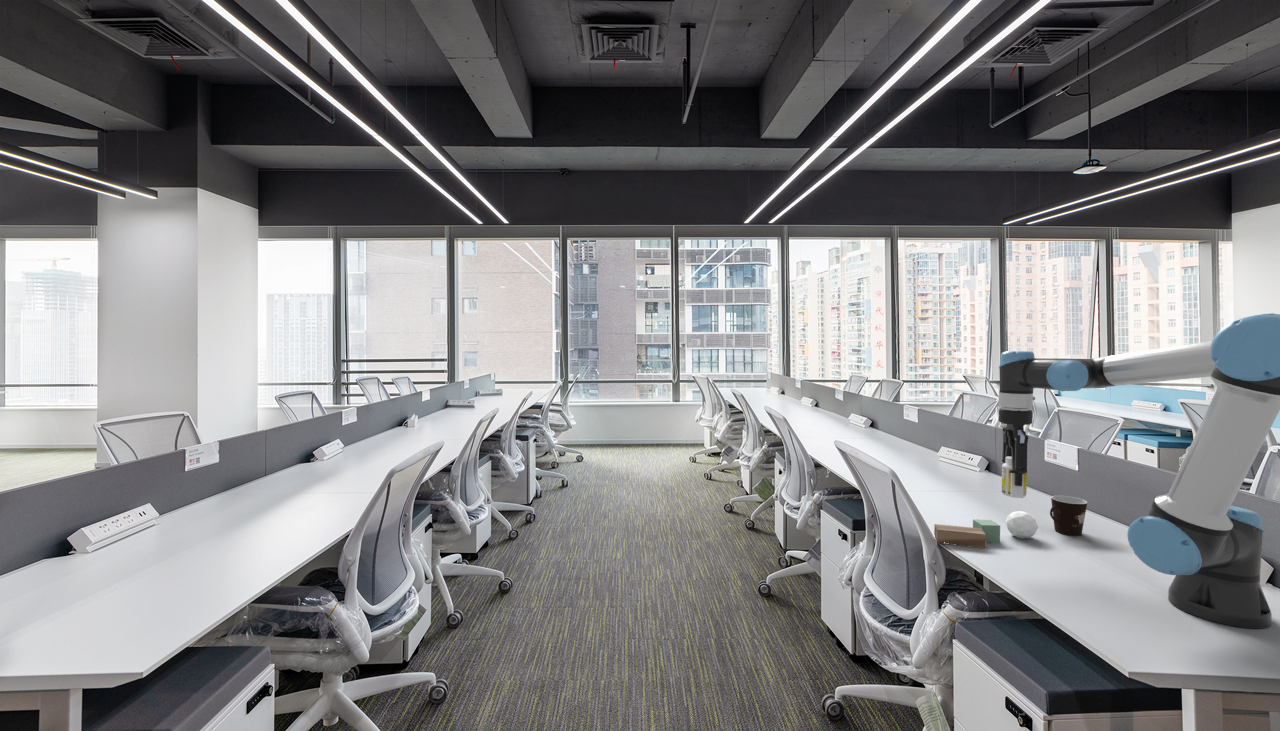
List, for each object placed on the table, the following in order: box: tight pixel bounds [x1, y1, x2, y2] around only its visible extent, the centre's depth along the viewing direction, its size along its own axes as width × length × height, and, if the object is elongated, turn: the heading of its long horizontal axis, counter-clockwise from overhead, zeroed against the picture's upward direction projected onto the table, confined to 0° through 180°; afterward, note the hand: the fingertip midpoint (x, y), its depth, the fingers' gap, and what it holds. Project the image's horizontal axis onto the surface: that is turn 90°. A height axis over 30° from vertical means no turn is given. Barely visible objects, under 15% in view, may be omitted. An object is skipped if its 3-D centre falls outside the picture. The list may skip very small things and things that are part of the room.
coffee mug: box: [1049, 495, 1088, 537], centre depth 163 cm, size 12×9×10 cm
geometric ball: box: [1004, 510, 1039, 540], centre depth 160 cm, size 8×8×8 cm
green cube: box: [972, 518, 1001, 543], centre depth 159 cm, size 5×5×5 cm
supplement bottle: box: [1001, 456, 1028, 498], centre depth 145 cm, size 6×6×10 cm
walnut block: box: [933, 523, 986, 549], centre depth 156 cm, size 5×12×4 cm, turn 69°
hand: (1013, 493), depth 146 cm, fingers closed on supplement bottle, 6 cm apart
